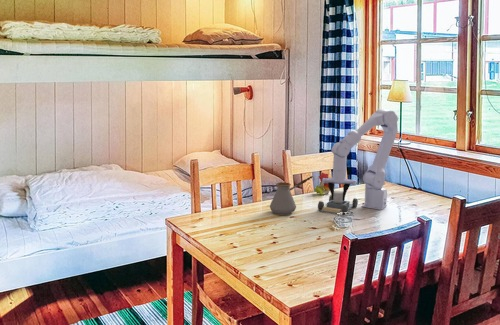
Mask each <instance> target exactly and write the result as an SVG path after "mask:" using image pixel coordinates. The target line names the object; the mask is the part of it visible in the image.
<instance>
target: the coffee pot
mask: <svg viewBox="0 0 500 325" xmlns="http://www.w3.org/2000/svg"><path fill="white" fill-rule="evenodd" d="M310 179H312V181H315V180H316V179H315V177H314V175H311V176H309V177H307V178H306V179H303V180H301V181H300V182H298V183H297V184H296V185H294V186H291V185H292V184H291V183H290V182H284V181H283V182H277V183H275V185H276V191H275V192H274V195H273V198H272V200H271V202H270V205H269V208H270V210H271V211H272V213H273V214H275V215H277V216H288V215H289V216H290V215H292V213H293V212H295V211H296V209H297V205H296V203H295V200H294V198H293V195H292V192H291V191H292V190H294V189H296V188H297V187H299V186H301V185H303V184H305V183H306V182H307V181H310Z"/></svg>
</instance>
